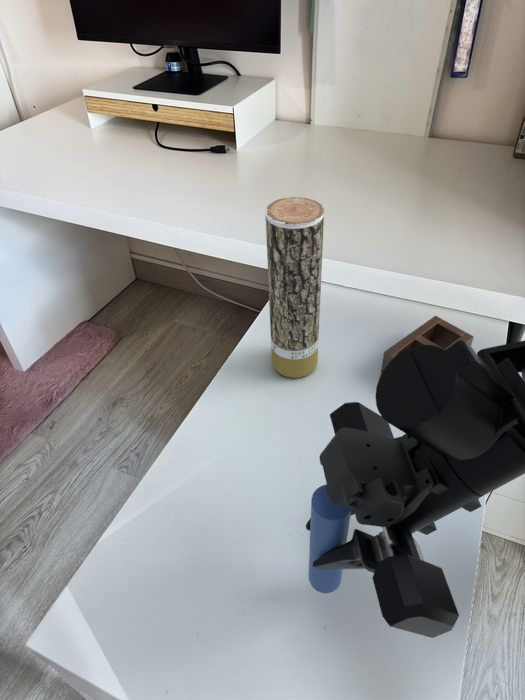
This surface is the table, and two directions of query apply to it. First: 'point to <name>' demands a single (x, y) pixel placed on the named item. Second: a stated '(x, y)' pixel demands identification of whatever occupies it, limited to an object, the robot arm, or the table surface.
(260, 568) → the table surface
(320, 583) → the peg
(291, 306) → the paper tube
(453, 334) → the rack
